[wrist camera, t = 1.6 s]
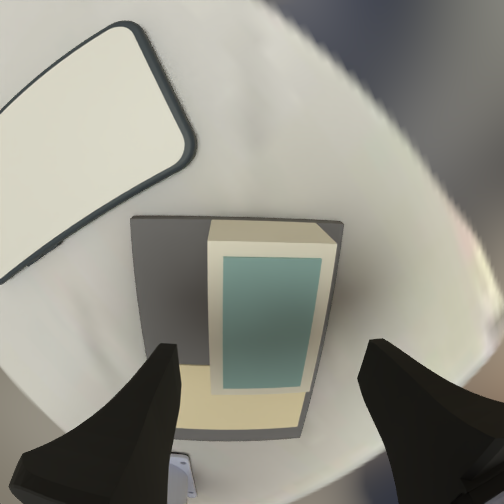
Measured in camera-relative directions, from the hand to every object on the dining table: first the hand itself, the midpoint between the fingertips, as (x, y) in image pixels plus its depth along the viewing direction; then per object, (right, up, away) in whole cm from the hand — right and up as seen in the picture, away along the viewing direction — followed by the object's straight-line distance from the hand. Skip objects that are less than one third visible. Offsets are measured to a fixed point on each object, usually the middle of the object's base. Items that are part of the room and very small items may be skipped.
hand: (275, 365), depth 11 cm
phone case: (-12, +9, +3) cm, 15 cm away
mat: (-2, -2, +7) cm, 8 cm away
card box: (0, +2, +5) cm, 6 cm away
